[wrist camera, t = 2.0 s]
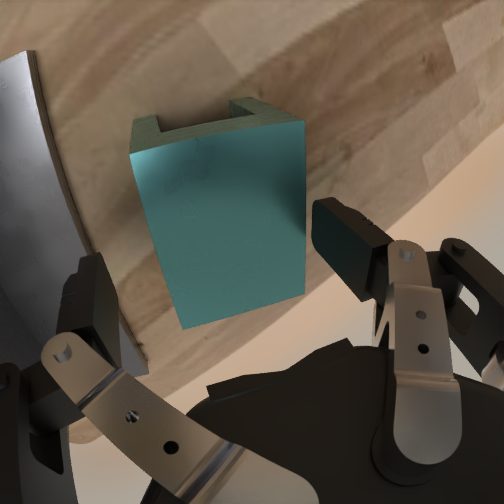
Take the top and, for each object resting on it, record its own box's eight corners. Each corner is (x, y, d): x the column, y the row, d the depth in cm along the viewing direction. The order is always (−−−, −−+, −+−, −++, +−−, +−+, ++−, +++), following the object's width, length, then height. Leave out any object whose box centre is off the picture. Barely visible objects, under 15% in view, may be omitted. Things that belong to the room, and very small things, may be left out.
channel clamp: (133, 119, 14) (129, 154, 9) (249, 97, 15) (304, 120, 10) (167, 254, 18) (182, 329, 14) (261, 229, 20) (304, 293, 15)
